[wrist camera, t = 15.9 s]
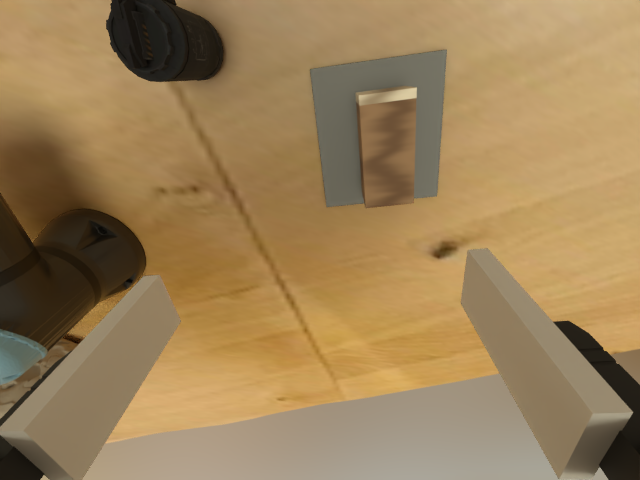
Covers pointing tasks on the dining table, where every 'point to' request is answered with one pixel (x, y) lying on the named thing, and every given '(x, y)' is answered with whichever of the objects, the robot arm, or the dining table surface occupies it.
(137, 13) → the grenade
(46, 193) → the dining table surface
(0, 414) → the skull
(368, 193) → the block
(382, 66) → the mat
